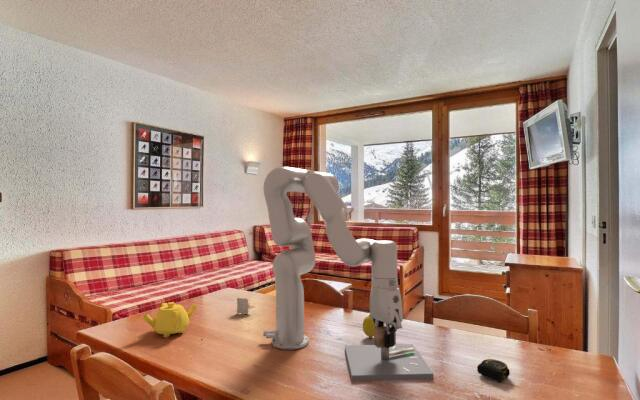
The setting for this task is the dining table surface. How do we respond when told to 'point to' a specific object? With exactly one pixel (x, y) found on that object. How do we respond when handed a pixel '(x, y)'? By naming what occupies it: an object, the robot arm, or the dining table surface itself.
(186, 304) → the dining table surface
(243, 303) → the architectural model
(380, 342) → the wooden block with handle
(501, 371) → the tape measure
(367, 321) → the lemon
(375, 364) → the board
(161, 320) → the teapot
